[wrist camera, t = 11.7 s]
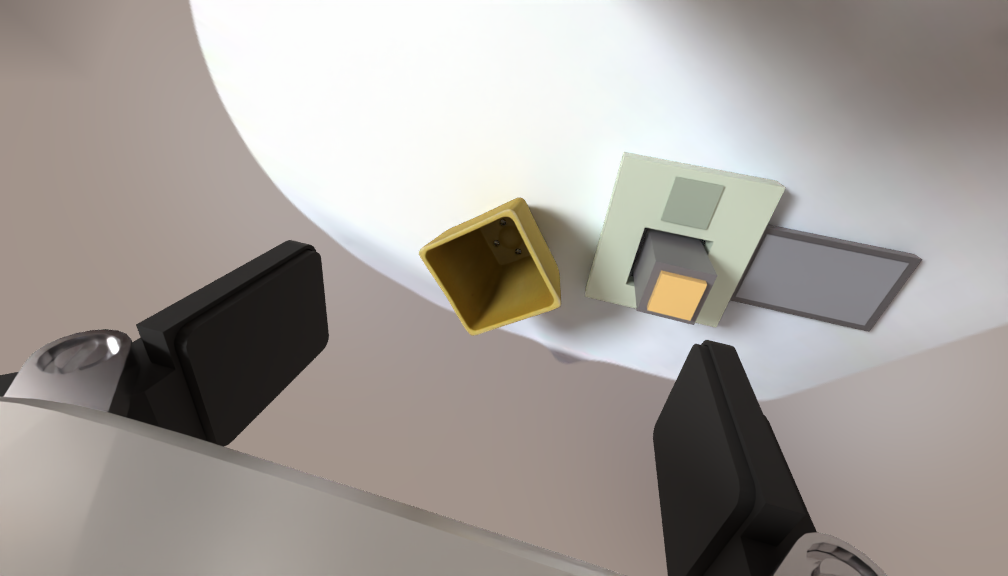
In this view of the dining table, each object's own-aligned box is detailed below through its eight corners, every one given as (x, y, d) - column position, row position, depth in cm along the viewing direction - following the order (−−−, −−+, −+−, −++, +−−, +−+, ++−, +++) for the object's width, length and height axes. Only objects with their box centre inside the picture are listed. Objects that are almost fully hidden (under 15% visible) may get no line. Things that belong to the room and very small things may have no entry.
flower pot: (572, 260, 40) (563, 308, 32) (495, 288, 43) (469, 338, 35) (533, 176, 37) (511, 207, 29) (453, 214, 40) (415, 250, 32)
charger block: (648, 226, 36) (656, 264, 30) (698, 237, 36) (719, 279, 29) (632, 269, 39) (637, 314, 32) (680, 280, 38) (695, 329, 31)
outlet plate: (623, 151, 34) (624, 157, 32) (776, 180, 32) (786, 188, 30) (586, 286, 40) (584, 297, 39) (711, 315, 39) (716, 328, 37)
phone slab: (756, 222, 34) (760, 226, 33) (914, 254, 33) (923, 259, 32) (722, 293, 38) (725, 299, 37) (863, 325, 36) (869, 332, 35)
